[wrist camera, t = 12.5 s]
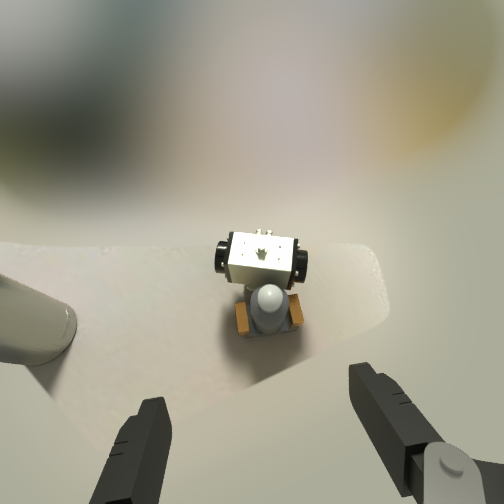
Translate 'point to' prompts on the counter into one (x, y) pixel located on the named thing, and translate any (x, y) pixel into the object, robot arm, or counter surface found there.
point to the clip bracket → (289, 324)
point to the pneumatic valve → (261, 260)
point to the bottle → (268, 308)
